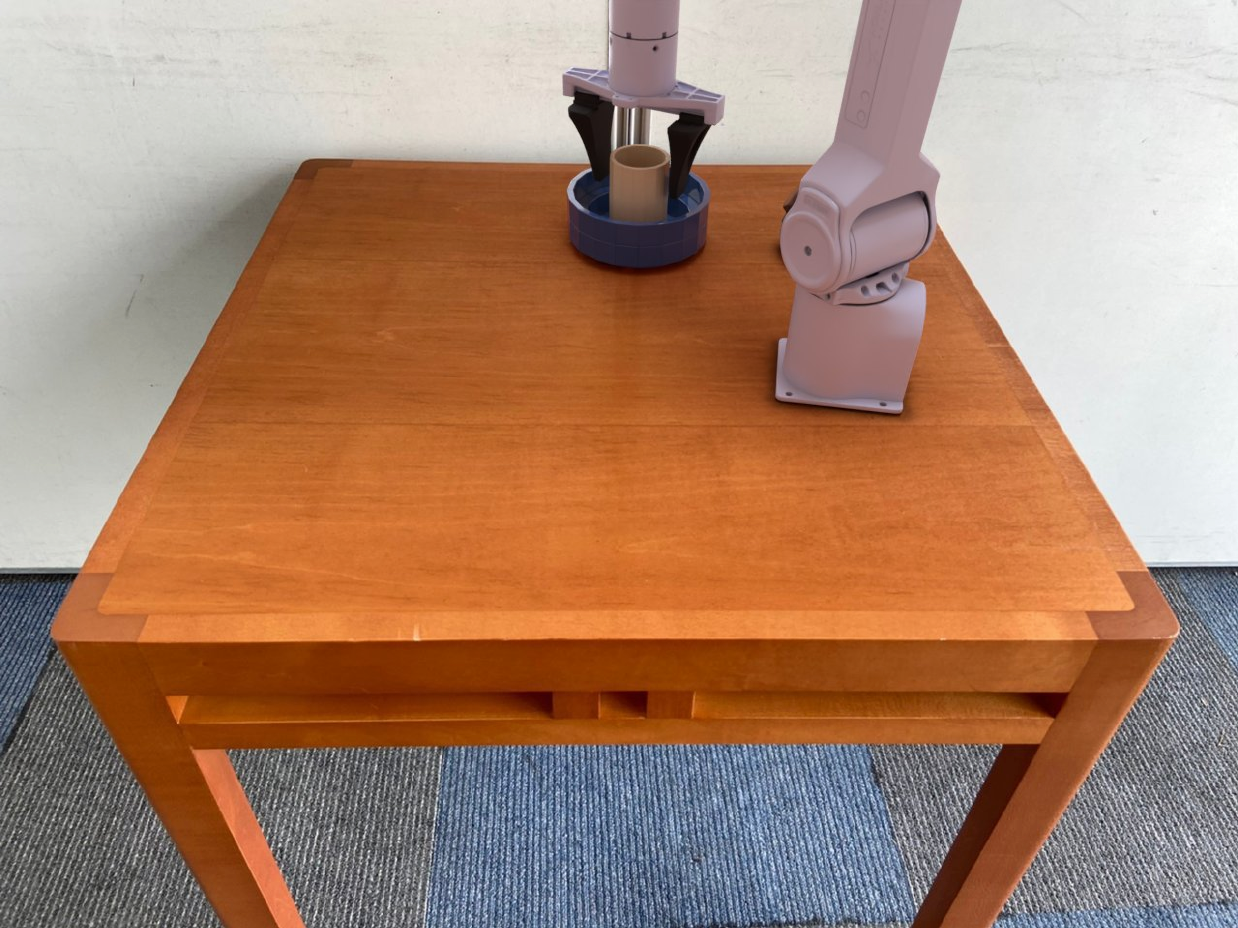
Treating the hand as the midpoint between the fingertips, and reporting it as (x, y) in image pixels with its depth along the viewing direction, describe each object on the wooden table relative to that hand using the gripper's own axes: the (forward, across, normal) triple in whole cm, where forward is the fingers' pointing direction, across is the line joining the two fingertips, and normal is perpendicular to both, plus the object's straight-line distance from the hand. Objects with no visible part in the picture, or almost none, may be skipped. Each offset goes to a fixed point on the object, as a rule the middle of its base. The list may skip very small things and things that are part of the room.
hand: (638, 186), depth 83 cm
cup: (+5, 0, 0) cm, 5 cm away
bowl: (+6, 0, 0) cm, 6 cm away
